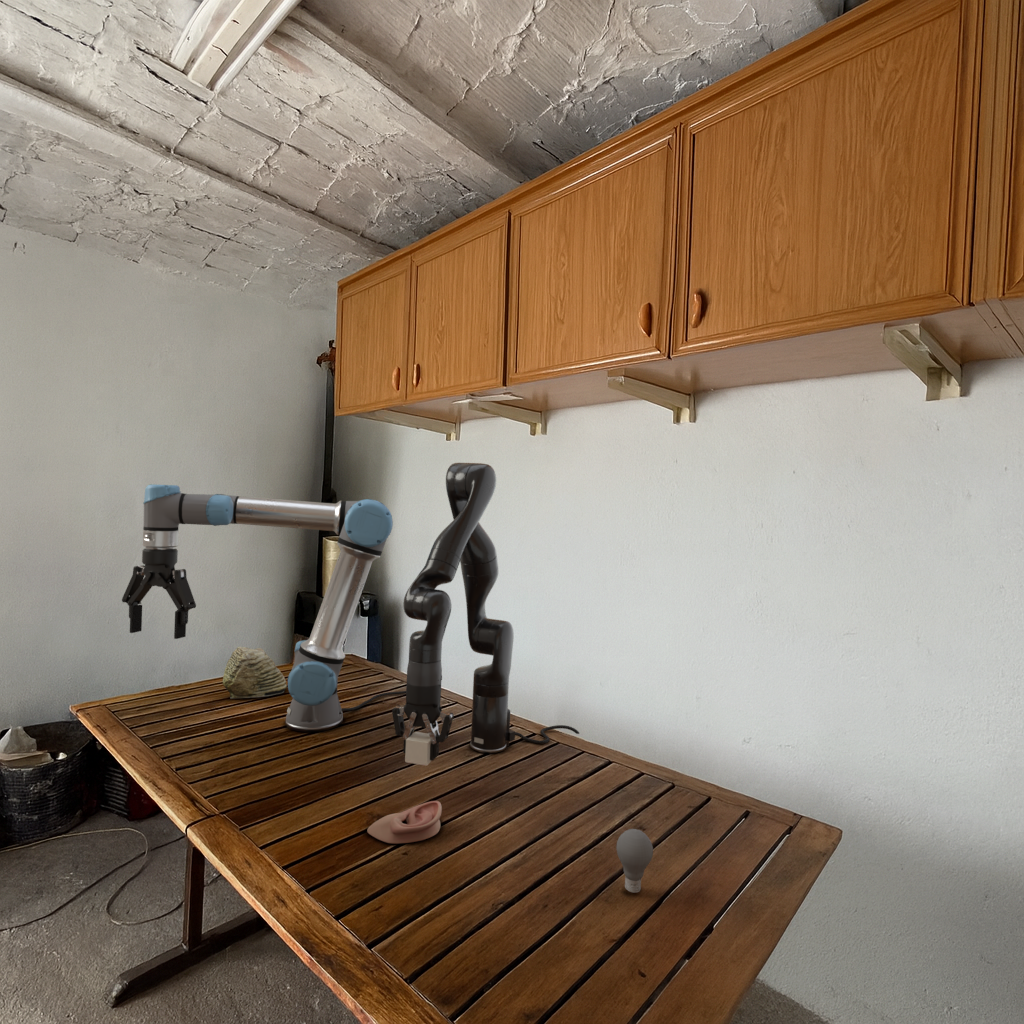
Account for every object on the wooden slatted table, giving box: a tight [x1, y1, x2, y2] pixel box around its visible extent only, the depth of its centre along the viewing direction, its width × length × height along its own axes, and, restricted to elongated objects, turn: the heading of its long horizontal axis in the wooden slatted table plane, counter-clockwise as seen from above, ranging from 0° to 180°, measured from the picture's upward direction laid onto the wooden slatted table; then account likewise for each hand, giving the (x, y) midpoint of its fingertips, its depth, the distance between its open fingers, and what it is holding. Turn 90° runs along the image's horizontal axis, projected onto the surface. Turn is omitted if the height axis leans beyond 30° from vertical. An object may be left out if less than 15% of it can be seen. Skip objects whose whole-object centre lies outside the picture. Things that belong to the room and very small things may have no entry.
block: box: [404, 731, 433, 767], centre depth 138 cm, size 5×5×5 cm
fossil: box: [222, 646, 288, 699], centre depth 198 cm, size 9×18×15 cm, turn 132°
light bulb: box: [615, 828, 654, 894], centre depth 106 cm, size 6×6×10 cm
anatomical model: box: [366, 800, 443, 845], centre depth 122 cm, size 13×4×12 cm
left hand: (157, 634), depth 154 cm, fingers open, 13 cm apart
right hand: (420, 756), depth 138 cm, fingers closed on block, 5 cm apart
